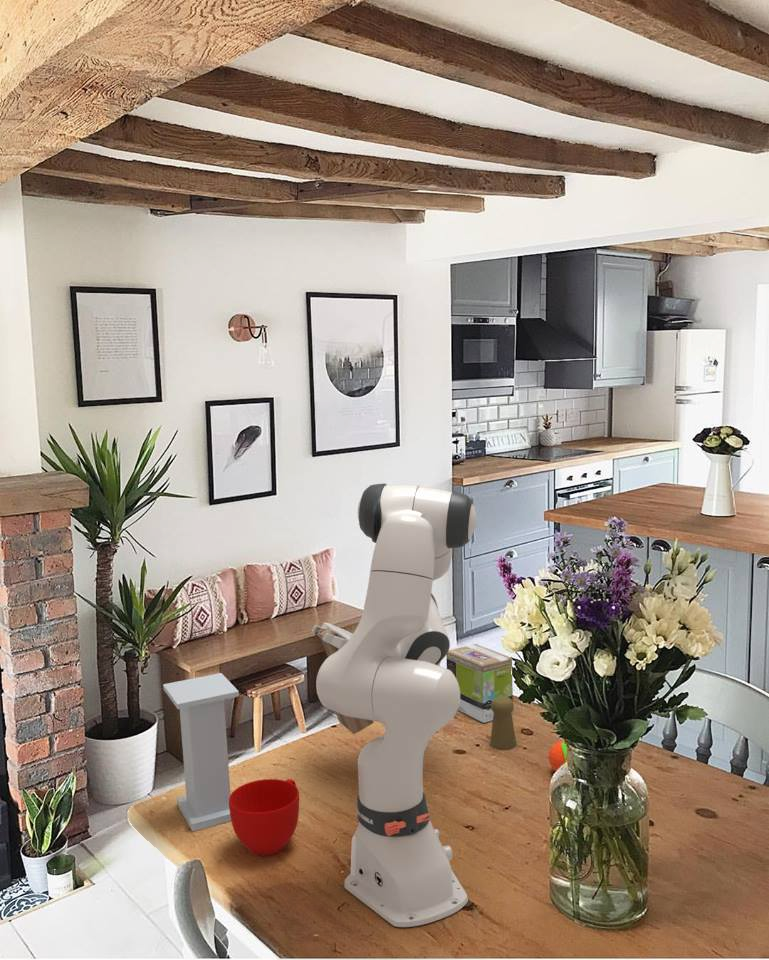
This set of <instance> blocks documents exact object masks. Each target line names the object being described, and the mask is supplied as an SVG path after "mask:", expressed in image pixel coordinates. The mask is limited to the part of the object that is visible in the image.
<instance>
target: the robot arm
mask: <svg viewBox="0 0 769 960" xmlns="http://www.w3.org/2000/svg"><path fill="white" fill-rule="evenodd" d="M357 519H358V525H359V528H360V530H361V531H362V533H363V534H364V535H365V536H366V537H367V538H370V539H371V541H372V542H373V543H375V546H374V550H373V554H372V559H371V564H370V570H369V578H368V583H367V589H366V595H365V601H364V605H363V610H362V614H361V617H360V620H359V623H358V624H357V626H356V629H355V630H354V632H353V633H351V632H350V631H348V630H345V629H344V628H341V627H340V626H336V625H334V624H332V623H330V622H323V623H322V625H321V626H318V625H314V626H313V628H312V630H311V633H312V634H313V635H315V636H317V637H319V638H320V639H321V637H320V635H319V633H321V632H323V631H325V630H327V629H329V628H330V629H331V630H333V631H334V632H336V633H337V635H338V637H337V636H334V635H332V634H330V633H327V632H325V633H324V634H323V636H322V640H323V641H325V642H327V643H329V644H331V645H333V646H335V647H337V648H339V649H338V651H337V652H335V653H334V654H332V655H330V656H329V657H328V656H327V658H326V659H325V660H324V661H323V662H322V664H321V666H320V667H319V670H318V672H317V675H316V681H315V683H316V684H315V686H316V694H317V696H318V699H319V702H320V703H321V705H322V706H323V707H324V708H327V709H328V710H331V711H333V712H334V713H335V712H337V713H340V714H342V715H345V716H348V717H354V718H360V719H366V720H372V721H373V722H379V723H380V724H381V723H382V724H383V726H384V735H381V736H378V737H376V738H375V739H372V740H371V741H369V742H368V743H366V744H365V745H364V746H363V747H362V749H360V751H359V752H360V753H359V755H358V759H357V777H358V795H357V798H356V813H357V816H356V817H357V821H358V824H357V826H356V829H355V831H354V833H353V835H352V837H351V845H350V846H351V849H350V850H351V851H350V853H351V854H350V873H349V874H348V875H347V877H346V878H345V879H344V882H343V883H344V885H343V886H344V889H345V890H347V891H348V892H349V893H351V894H352V895H353V896H354V897H356V898H357V899H358V900H360V901H361V902H362V903H363V904H365V905H366V906H367V907H369V908H370V909H371V910H372V911H374V912H375V913H376V914H378V915H379V916H380V917H381V918H382V919H384V920H385V921H386V922H388V923H389V924H391V925H392V926H394V927H397V928H410V927H418V926H422V925H426V924H430V923H434V922H436V921H440V920H441V919H444V918H447V917H449V916H451V915H453V914H455V913H457V912H458V911H459V910H461V909H463V907H465V906H466V905H467V903H468V902H469V899H468V894H467V892H466V891H465V888H464V887H463V886H462V884H461V883H460V881H459V879H458V878H457V876H456V874H455V873H454V871H453V869H452V866H451V863H450V861H451V860H452V859H453V857H454V856H453V851H452V848H451V846H450V845H442V842H441V841H440V838H439V837H440V831H439V829H438V828H434V826H433V823H432V822H431V821H430V820H431V817H430V815H431V814H430V811H429V804H428V801H427V798H426V793H425V792H424V788H423V787H424V783H423V781H424V780H423V779H424V777H423V775H424V774H423V773H424V757H425V751H426V749H427V746H428V743H429V742H430V740H431V739H432V738H433V736H434V735H435V734H436V733H437V732H438V731H440V730H441V729H442V728H443V729H444V727H446V726H447V725H449V723H451V721H452V720H453V718H454V717H455V716H456V714H457V712H458V711H459V710H458V707H459V704H460V688H459V684H458V682H457V679H456V677H455V676H454V674H453V673H452V672H451V671H450V670H448V669H447V667H446V668H445V667H443V666H440V665H441V662H442V661H443V660H444V659H445V657H446V654H447V653H448V651H449V650H450V647H451V643H450V638H449V636H448V633H447V630H446V627H445V625H444V622H443V619H442V617H441V614H440V611H439V608H438V604H437V600H436V598H435V596H434V594H433V593H432V590H433V583H434V581H436V580H439V579H440V578H442V577H443V576H444V575H445V574H446V573H447V572H448V571H449V568H450V565H451V562H452V558H453V557H452V555H453V549H458V548H463V547H464V546H466V545H467V544H468V543H469V542H470V541H471V537H473V535H474V533H475V530H476V526H477V513H476V509H475V505H474V501H473V500H472V499H471V497H470V496H469V495H466V494H465V493H462V492H459V491H457V490H456V491H455V490H453V491H448V490H442V489H437V488H432V487H425V486H420V485H415V484H387V483H376V484H371V485H369V486H368V487H366V488H365V490H364V491H363V493H362V495H361V498H360V499H359V502H358V506H357ZM322 640H321V641H322Z"/></svg>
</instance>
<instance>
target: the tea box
mask: <svg viewBox="0 0 769 960" xmlns="http://www.w3.org/2000/svg"><path fill="white" fill-rule="evenodd" d="M445 657H446V669H448V670H450V671H451V672H452V673H453V674H454V676H455V677H456V679H457V682H458V684H459V688H460V704H459V707H458V710H457V711H459V712H461V713H464V714H466V715H467V716H469V717H471V718H472V719H474V720H477V721H478V722H481V723H489V722H493V714H494V712H493V711H492V709H491V702H492V700H493V699H494V698H496V697H501V696H502V697H508V698H510V699H511V700H512V701H513V702H514V699H513V698H514V696H513V691H514V689H513V674H512V675H511V667H512V668H513V658H512V657H510V656H508V655H505V654H503V653H500V652H499V651H498V652H497V651H495V650H492V649H490V648H488V647H485V646H482V645H479V644H478V643H474V644H469V645H465V646H461V647H458V648H452V649H449V651H448V653H447V654H446V656H445ZM511 658H512V659H511ZM513 712H514V710H513V711H512V714H513Z"/></svg>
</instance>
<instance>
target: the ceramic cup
mask: <svg viewBox="0 0 769 960" xmlns="http://www.w3.org/2000/svg"><path fill="white" fill-rule="evenodd" d="M230 794H231V795H230V797H229V810H230V816H231V821H230V822H231V825H232V828H233V831H234V834H235V835H236V838H238V841H239V842H240V843H241V844H242V845H243V846H244V847H245V848H246V849H247V850H249V851H250V852H251V853H252V854H254V855H256V856H270V855H271V854H272V855H274V854H275V855H276V854H277V853H279V852H280V850H281V851H282V850H283V849H284V848H285V846H286V845H287V844H288V842H289V841H290V840H291V838H292V837H293V835H294V833H295V831H296V829H297V826H298V822H299V821H298V820H299V816H300V815H299V813H300V812H299V810H300V792H299V788H298V786H297V784H296V781H295V780H294V779H292V778H288V779H285V780H283V779H276V778H267V779H259V780H253V781H250V782H247V783H245V784H242V785H240V786H239V787H237V788H235V789H234V790H233V791H232V792H231V793H230Z"/></svg>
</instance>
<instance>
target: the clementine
mask: <svg viewBox="0 0 769 960" xmlns="http://www.w3.org/2000/svg"><path fill="white" fill-rule="evenodd" d="M563 741H564V740H559V741H557V742H556V743H554V744H553V746H552V747H550V750H549V752H548V760H549V764H550V766H551V768H552V769H553V770H554V771H555V772H556V770H557V769H558V768H559V767H560V766H561V765H562V764H564V763H565V762H566V760H567V747H566V744H565V743H564V742H563Z"/></svg>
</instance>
